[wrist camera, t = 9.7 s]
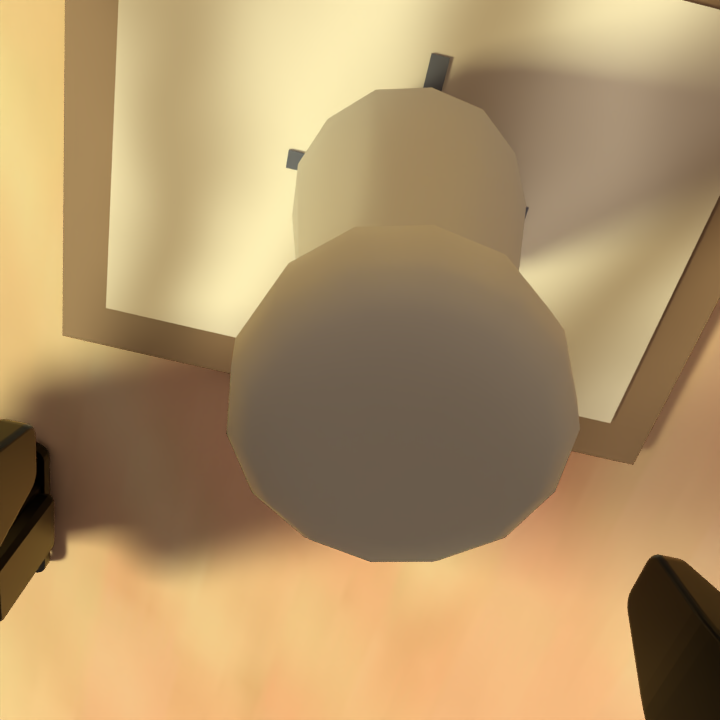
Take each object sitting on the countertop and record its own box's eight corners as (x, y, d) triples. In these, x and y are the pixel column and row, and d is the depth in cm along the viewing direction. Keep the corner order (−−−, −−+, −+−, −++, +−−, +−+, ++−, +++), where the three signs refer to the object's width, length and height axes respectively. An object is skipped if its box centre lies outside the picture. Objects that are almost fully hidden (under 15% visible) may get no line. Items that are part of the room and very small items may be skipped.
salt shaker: (457, 34, 17) (558, 65, 5) (543, 228, 19) (747, 551, 7) (267, 147, 18) (27, 359, 7) (366, 314, 21) (308, 688, 9)
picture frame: (73, 325, 23) (58, 339, 22) (81, -226, 16) (60, -242, 15) (626, 451, 24) (635, 470, 23) (865, -21, 17) (894, -24, 16)
